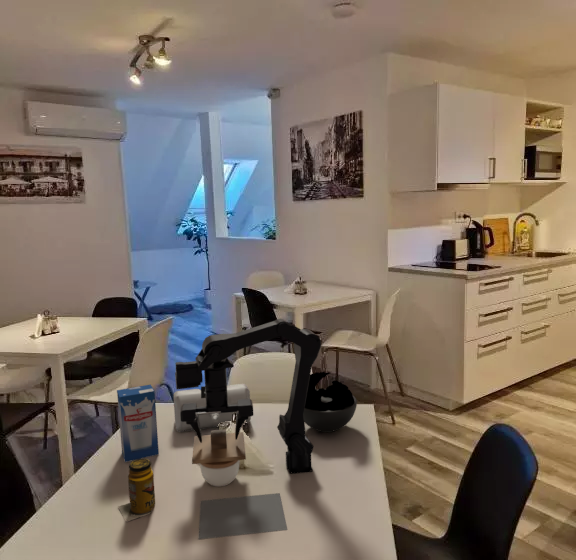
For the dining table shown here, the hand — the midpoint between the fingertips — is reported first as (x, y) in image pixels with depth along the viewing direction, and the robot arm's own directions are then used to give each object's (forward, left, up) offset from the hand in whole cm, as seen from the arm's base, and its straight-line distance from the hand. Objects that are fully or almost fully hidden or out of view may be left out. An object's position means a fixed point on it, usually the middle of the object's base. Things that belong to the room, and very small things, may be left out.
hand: (218, 440), depth 136 cm
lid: (0, 0, -2) cm, 2 cm away
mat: (-5, +17, -12) cm, 21 cm away
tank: (+2, -36, -12) cm, 38 cm away
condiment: (+20, +9, -12) cm, 25 cm away
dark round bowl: (-34, -26, -12) cm, 45 cm away
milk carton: (+24, -20, -12) cm, 34 cm away
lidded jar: (0, 0, -12) cm, 12 cm away
